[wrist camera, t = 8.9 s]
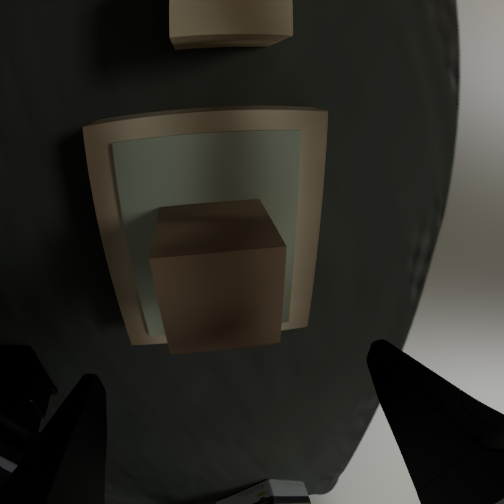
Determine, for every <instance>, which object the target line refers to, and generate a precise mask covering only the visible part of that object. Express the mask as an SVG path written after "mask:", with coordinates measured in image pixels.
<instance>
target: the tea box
mask: <svg viewBox="0 0 504 504" xmlns="http://www.w3.org/2000/svg"><path fill="white" fill-rule="evenodd" d="M216 504H311V502H310V499H309V497H308V494H307V491H306V488H305V485H304V482H302V481H291V480H277V479H268V480H266V481H264V482H262V483H259V484H257V485H255V486H253V487H251V488H248V489H246V490H244V491H242V492H239V493H237V494H235V495H232V496H230V497H227V498H225V499H222V500H220V501H217V502H216Z"/></svg>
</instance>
